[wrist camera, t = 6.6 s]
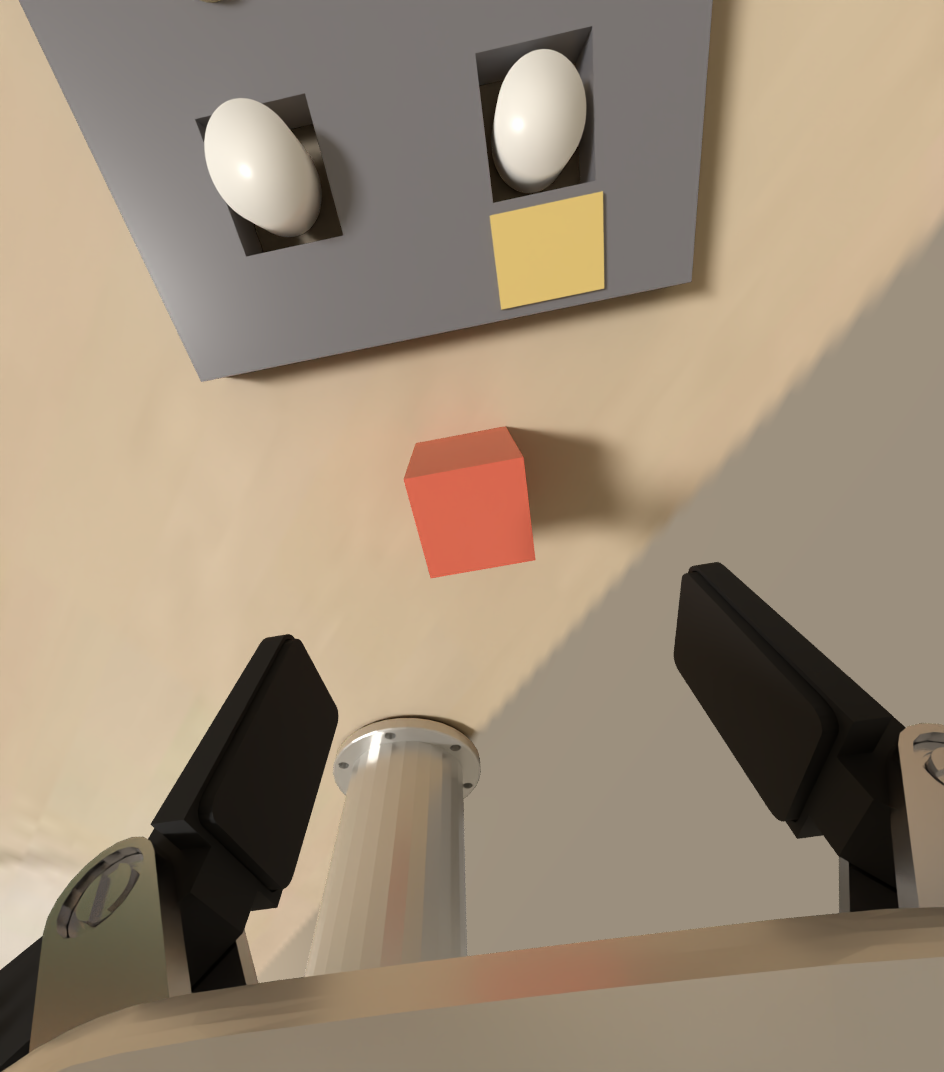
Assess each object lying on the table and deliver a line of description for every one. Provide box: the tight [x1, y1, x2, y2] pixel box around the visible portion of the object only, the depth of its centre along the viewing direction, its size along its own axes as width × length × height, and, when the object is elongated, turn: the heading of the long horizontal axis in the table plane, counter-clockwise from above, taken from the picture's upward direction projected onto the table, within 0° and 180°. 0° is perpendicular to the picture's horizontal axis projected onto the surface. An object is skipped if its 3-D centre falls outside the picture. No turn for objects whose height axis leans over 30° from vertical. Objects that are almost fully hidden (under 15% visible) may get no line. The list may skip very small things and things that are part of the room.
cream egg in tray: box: [491, 49, 586, 193], centre depth 14 cm, size 3×3×2 cm
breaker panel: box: [19, 0, 713, 382], centre depth 14 cm, size 15×22×3 cm
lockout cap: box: [404, 426, 535, 578], centre depth 20 cm, size 5×5×6 cm
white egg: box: [204, 98, 322, 237], centre depth 14 cm, size 3×3×2 cm
